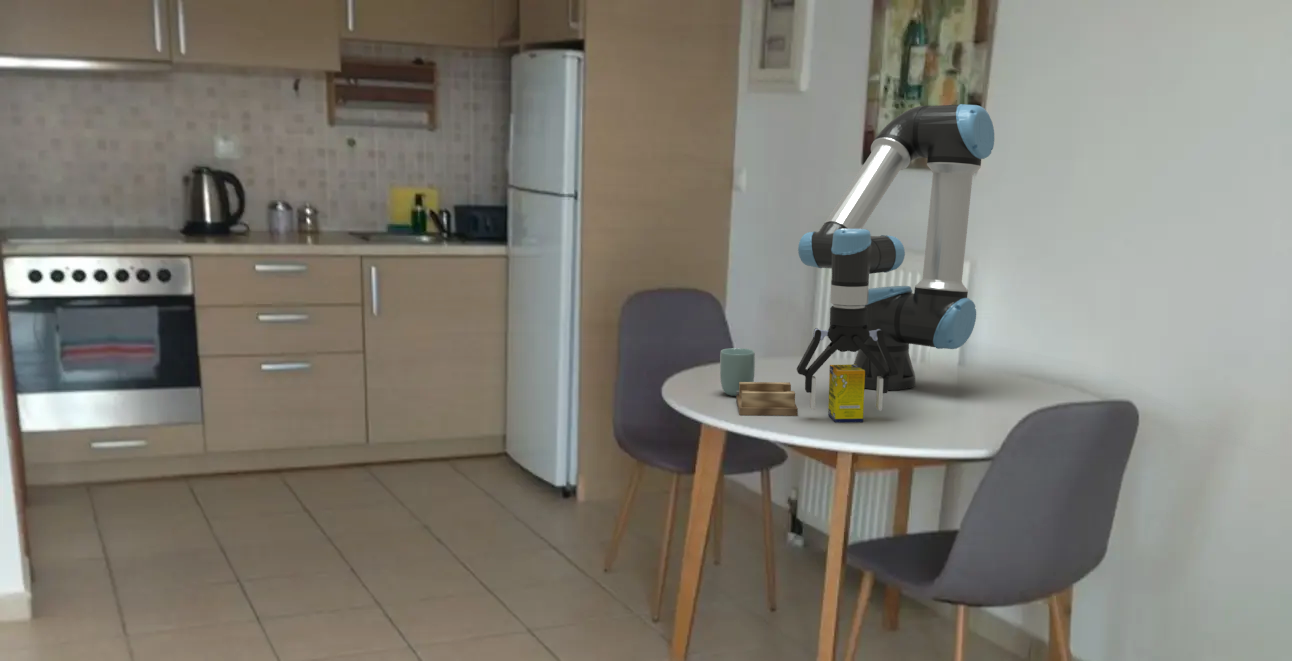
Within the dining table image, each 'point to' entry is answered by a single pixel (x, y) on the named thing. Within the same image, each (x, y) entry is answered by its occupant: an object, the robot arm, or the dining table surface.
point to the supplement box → (846, 393)
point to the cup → (736, 368)
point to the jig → (766, 399)
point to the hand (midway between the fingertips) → (845, 408)
